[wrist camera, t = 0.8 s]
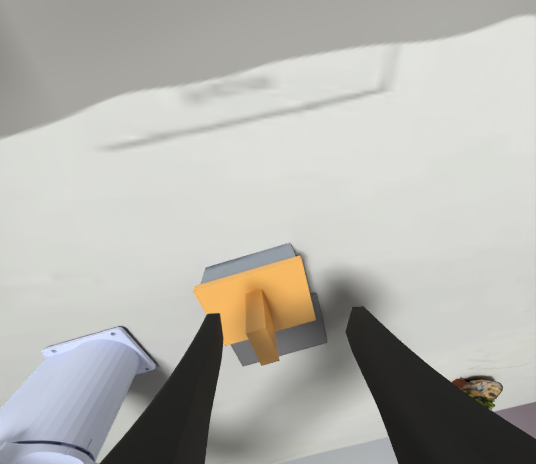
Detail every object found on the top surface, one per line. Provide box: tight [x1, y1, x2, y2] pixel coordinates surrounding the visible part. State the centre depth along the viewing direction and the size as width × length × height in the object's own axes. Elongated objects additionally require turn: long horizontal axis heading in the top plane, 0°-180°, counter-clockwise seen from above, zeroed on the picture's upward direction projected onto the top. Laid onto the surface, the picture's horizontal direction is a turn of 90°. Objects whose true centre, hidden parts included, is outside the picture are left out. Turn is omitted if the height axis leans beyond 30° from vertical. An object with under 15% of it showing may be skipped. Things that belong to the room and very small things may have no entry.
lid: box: [193, 255, 316, 366], centre depth 17 cm, size 10×8×6 cm
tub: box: [201, 243, 296, 284], centre depth 20 cm, size 9×7×3 cm
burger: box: [452, 378, 503, 411], centre depth 35 cm, size 12×12×8 cm
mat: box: [230, 293, 327, 366], centre depth 25 cm, size 12×9×1 cm
